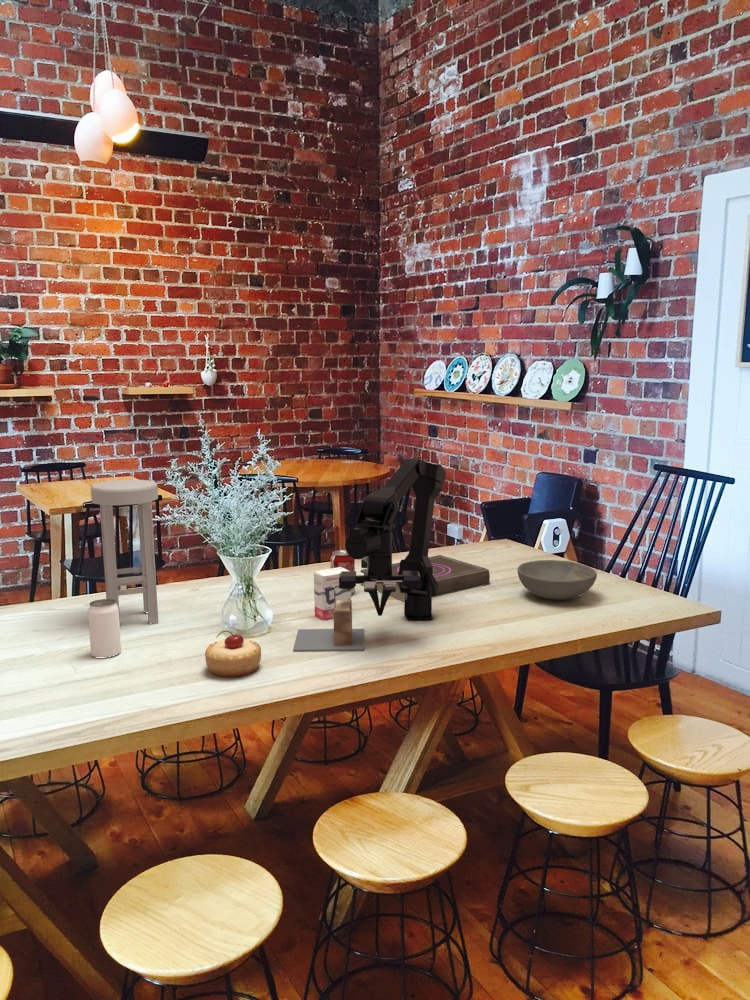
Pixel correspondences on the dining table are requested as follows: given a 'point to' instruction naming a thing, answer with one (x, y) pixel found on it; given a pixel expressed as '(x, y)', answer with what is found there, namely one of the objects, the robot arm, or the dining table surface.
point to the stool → (143, 496)
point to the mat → (326, 640)
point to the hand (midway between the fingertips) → (379, 615)
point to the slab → (342, 622)
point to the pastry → (233, 656)
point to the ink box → (328, 592)
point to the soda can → (342, 562)
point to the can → (104, 628)
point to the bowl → (556, 578)
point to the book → (446, 576)
